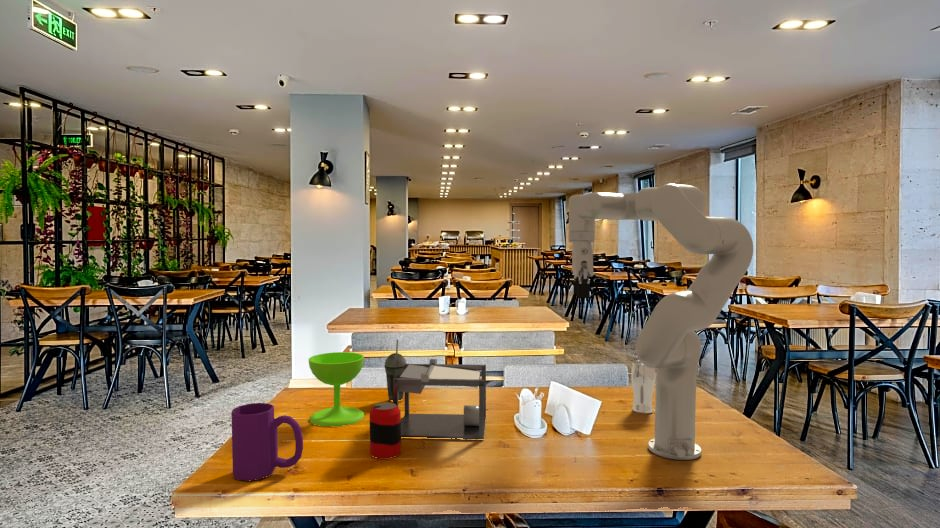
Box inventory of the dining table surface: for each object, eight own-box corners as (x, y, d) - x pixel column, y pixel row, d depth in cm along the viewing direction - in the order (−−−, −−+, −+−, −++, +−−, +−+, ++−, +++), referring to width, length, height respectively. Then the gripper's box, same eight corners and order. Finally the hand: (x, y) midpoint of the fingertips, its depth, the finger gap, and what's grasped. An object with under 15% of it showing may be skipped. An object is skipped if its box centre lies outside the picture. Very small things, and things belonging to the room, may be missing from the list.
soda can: (367, 450, 140) (366, 403, 140) (396, 446, 143) (396, 400, 142) (373, 461, 133) (372, 412, 132) (404, 457, 136) (403, 408, 135)
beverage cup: (380, 401, 181) (379, 340, 180) (393, 396, 187) (392, 337, 186) (398, 405, 177) (398, 342, 176) (411, 399, 184) (411, 339, 183)
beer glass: (657, 414, 168) (658, 365, 167) (634, 414, 168) (635, 365, 167) (650, 407, 175) (651, 360, 174) (628, 407, 175) (628, 359, 174)
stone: (463, 428, 153) (481, 429, 153) (463, 409, 152) (481, 409, 152) (465, 421, 158) (482, 421, 158) (465, 402, 158) (482, 402, 158)
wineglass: (369, 422, 161) (369, 361, 160) (312, 430, 155) (311, 366, 154) (359, 407, 175) (358, 350, 175) (306, 413, 170) (305, 354, 169)
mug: (240, 465, 131) (239, 403, 130) (307, 463, 132) (306, 401, 131) (226, 483, 122) (224, 415, 121) (298, 480, 123) (297, 413, 122)
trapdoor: (476, 400, 148) (478, 383, 147) (398, 391, 149) (400, 374, 149) (478, 386, 162) (480, 369, 162) (407, 377, 163) (409, 361, 163)
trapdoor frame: (483, 441, 146) (483, 375, 145) (393, 439, 148) (392, 373, 147) (485, 418, 165) (485, 359, 164) (405, 416, 166) (405, 358, 165)
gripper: (600, 237, 153) (599, 299, 154) (589, 237, 170) (589, 293, 171) (572, 237, 153) (572, 299, 154) (565, 237, 171) (564, 293, 172)
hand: (581, 296), depth 163 cm, fingers open, 9 cm apart
